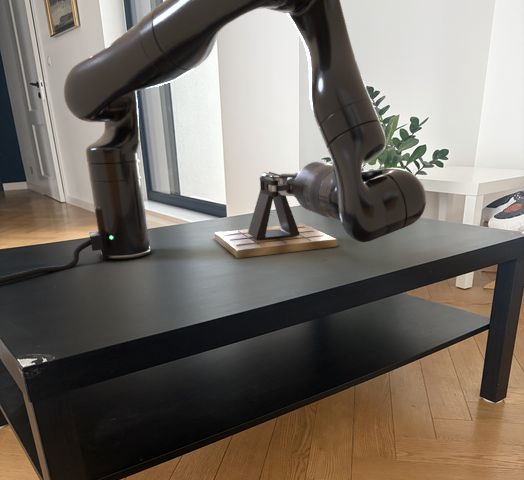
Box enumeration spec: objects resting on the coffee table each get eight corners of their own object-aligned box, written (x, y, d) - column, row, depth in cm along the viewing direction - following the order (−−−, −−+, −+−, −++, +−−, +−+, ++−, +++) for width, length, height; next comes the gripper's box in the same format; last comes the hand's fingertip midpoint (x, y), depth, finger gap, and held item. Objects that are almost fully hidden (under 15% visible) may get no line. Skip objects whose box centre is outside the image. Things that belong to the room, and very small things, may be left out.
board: (237, 258, 101) (236, 249, 101) (215, 239, 117) (214, 231, 116) (336, 246, 106) (336, 238, 106) (302, 230, 122) (302, 222, 122)
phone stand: (256, 240, 107) (253, 176, 102) (248, 234, 112) (245, 173, 107) (299, 235, 109) (298, 172, 104) (289, 230, 115) (288, 170, 110)
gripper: (371, 160, 83) (327, 154, 97) (282, 166, 79) (250, 158, 93) (369, 211, 86) (326, 197, 100) (283, 219, 82) (252, 204, 96)
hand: (290, 179), depth 97 cm, fingers open, 8 cm apart
